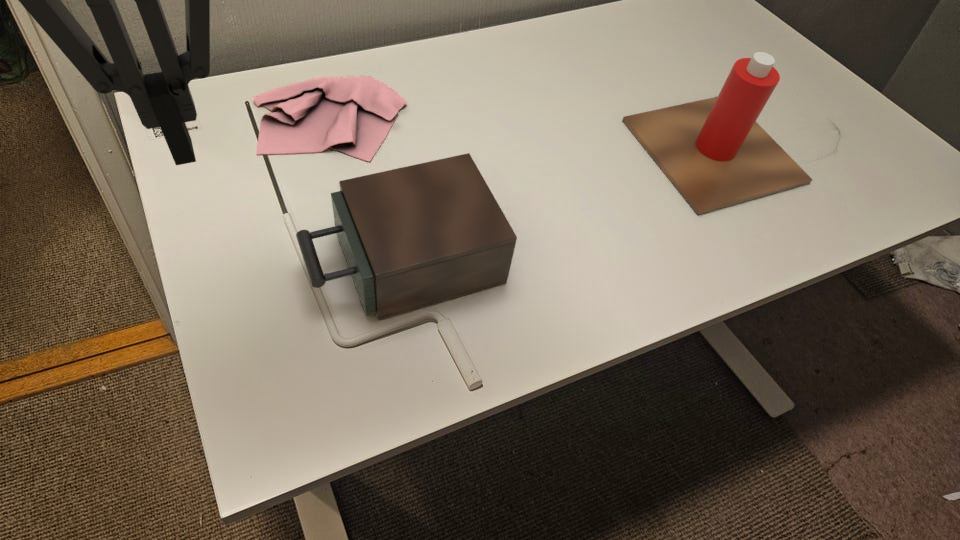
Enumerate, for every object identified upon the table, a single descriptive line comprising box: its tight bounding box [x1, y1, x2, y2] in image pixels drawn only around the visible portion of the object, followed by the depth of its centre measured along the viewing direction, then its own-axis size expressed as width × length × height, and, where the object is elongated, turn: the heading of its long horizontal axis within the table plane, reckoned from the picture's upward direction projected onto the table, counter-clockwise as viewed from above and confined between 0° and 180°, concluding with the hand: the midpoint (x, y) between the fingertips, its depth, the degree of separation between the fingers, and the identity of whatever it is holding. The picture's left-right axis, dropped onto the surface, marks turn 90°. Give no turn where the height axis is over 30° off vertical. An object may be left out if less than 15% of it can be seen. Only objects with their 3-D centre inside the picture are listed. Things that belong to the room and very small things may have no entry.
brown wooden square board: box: [622, 96, 813, 216], centre depth 90 cm, size 20×20×1 cm
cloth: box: [252, 75, 408, 163], centre depth 85 cm, size 20×22×2 cm
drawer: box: [295, 190, 376, 316], centre depth 68 cm, size 19×12×7 cm, turn 113°
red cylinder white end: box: [696, 51, 781, 161], centre depth 83 cm, size 6×6×15 cm
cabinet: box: [338, 152, 518, 321], centre depth 70 cm, size 16×14×9 cm
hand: (183, 152), depth 49 cm, fingers closed
